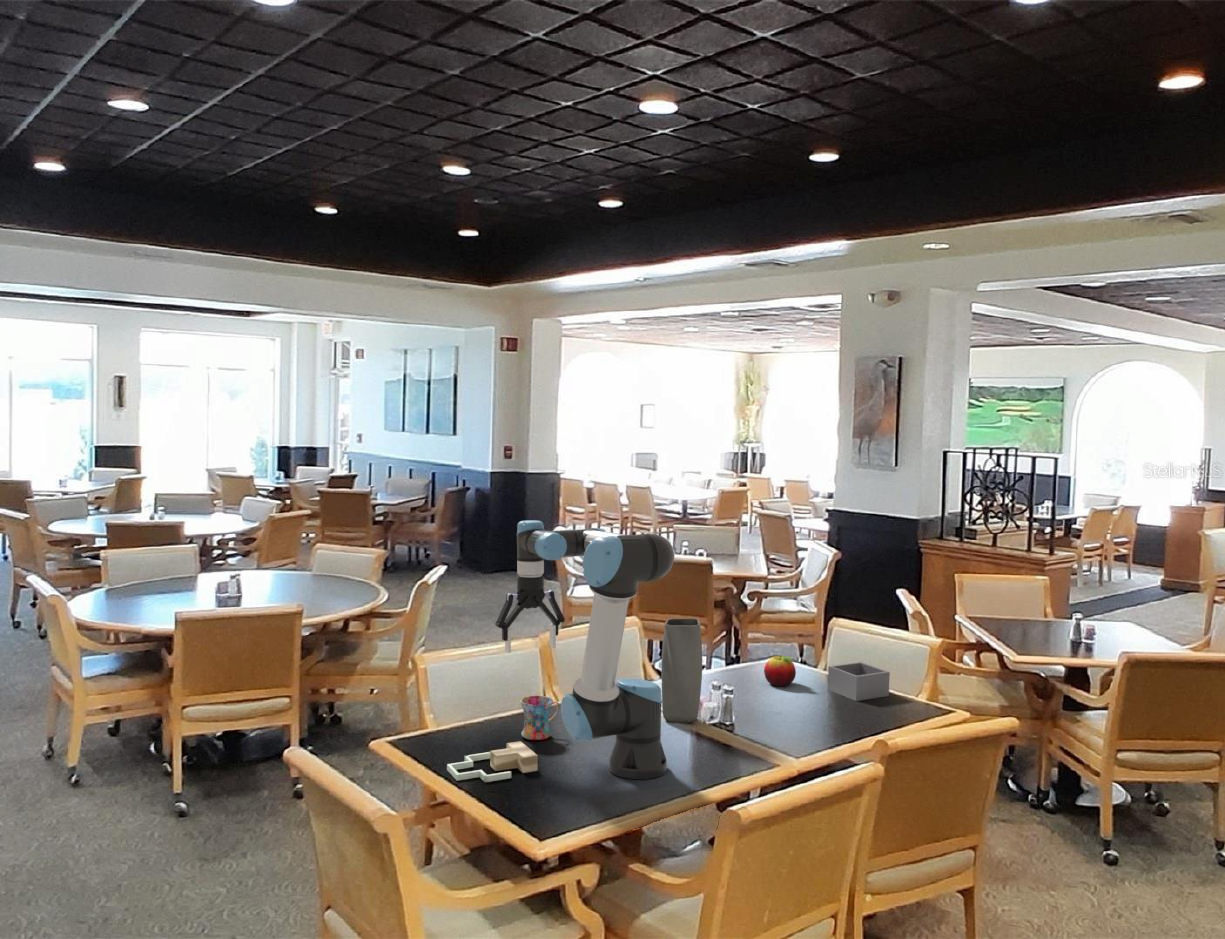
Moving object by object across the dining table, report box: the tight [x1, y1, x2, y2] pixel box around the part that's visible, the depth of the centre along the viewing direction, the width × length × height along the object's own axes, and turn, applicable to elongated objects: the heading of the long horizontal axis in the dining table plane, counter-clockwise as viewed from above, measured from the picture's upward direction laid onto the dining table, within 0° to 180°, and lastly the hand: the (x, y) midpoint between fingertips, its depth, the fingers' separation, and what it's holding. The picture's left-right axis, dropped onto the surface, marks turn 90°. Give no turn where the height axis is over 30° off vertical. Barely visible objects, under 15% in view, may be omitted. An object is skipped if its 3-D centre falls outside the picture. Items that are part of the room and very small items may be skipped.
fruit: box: [763, 654, 797, 687], centre depth 336 cm, size 11×11×10 cm
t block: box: [489, 740, 539, 774], centre depth 257 cm, size 12×10×4 cm
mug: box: [519, 695, 561, 741], centre depth 280 cm, size 12×9×11 cm
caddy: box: [827, 661, 891, 702], centre depth 328 cm, size 14×14×8 cm
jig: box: [446, 751, 512, 783], centre depth 253 cm, size 16×13×2 cm
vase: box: [660, 617, 703, 724], centre depth 296 cm, size 12×12×30 cm
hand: (530, 649), depth 280 cm, fingers open, 13 cm apart
